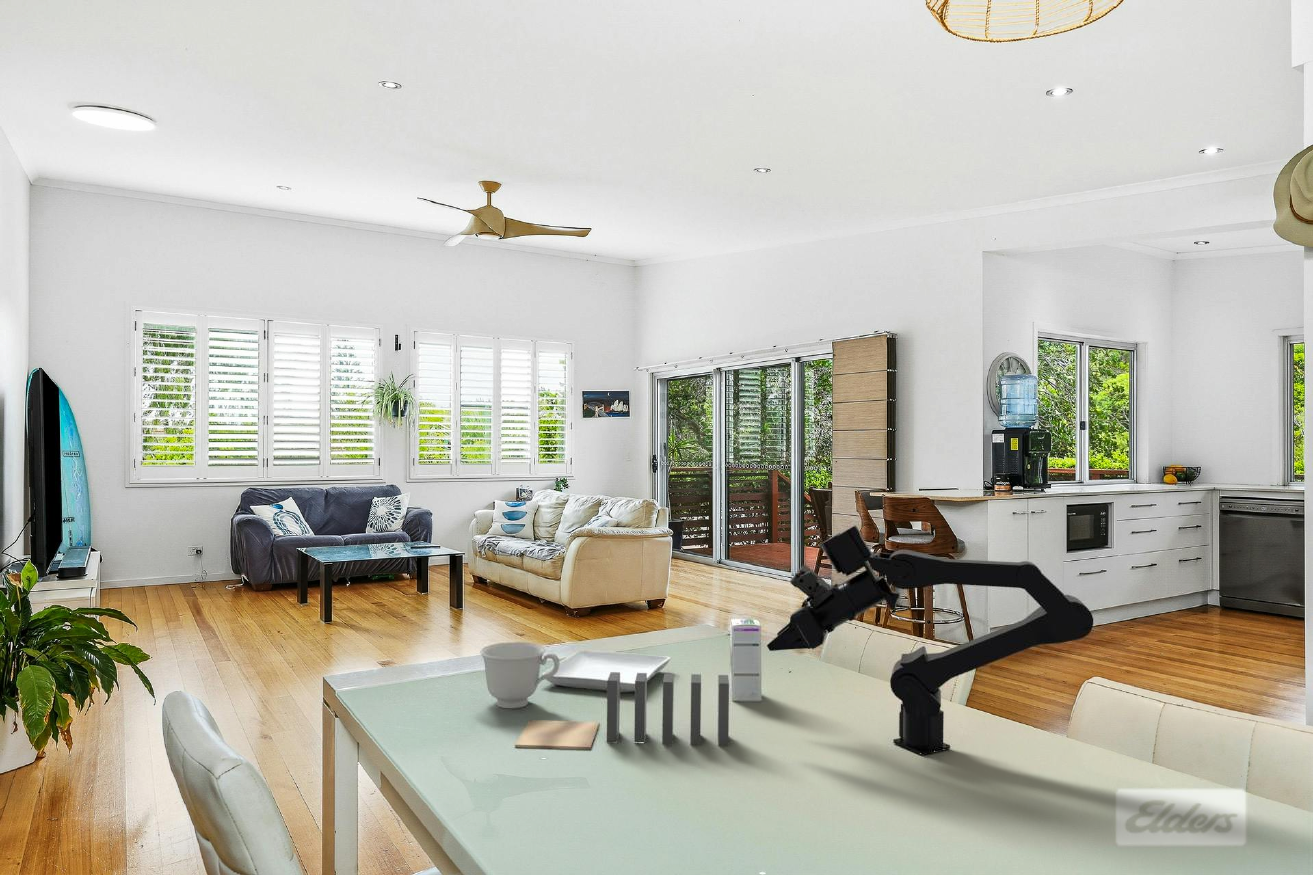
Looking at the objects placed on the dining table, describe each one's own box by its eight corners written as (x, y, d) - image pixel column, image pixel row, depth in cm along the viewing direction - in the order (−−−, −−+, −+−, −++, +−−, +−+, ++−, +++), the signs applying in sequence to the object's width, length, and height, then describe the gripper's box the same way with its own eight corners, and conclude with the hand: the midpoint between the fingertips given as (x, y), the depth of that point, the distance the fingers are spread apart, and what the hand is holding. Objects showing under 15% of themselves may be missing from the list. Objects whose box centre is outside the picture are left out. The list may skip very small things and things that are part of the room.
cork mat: (599, 724, 145) (599, 722, 145) (590, 749, 133) (590, 746, 133) (530, 722, 146) (530, 719, 146) (514, 747, 134) (515, 744, 134)
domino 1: (619, 732, 141) (620, 672, 141) (616, 742, 136) (617, 680, 136) (609, 731, 141) (610, 672, 142) (606, 742, 136) (607, 680, 137)
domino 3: (673, 733, 141) (673, 673, 141) (672, 744, 136) (672, 682, 136) (663, 733, 141) (664, 673, 141) (662, 744, 136) (663, 681, 136)
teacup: (547, 717, 148) (548, 660, 148) (468, 711, 151) (469, 655, 151) (568, 697, 160) (569, 644, 160) (494, 692, 163) (495, 640, 163)
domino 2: (646, 733, 141) (646, 673, 141) (644, 743, 136) (644, 681, 136) (636, 732, 141) (637, 672, 141) (634, 743, 136) (635, 681, 136)
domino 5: (727, 735, 140) (727, 675, 141) (728, 745, 136) (729, 683, 136) (717, 735, 141) (718, 674, 141) (718, 745, 136) (719, 683, 136)
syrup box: (762, 701, 159) (763, 624, 159) (730, 701, 159) (731, 624, 159) (759, 693, 165) (759, 618, 165) (728, 692, 165) (729, 618, 165)
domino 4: (700, 734, 141) (700, 674, 141) (700, 745, 136) (701, 682, 136) (690, 734, 141) (691, 674, 141) (690, 744, 136) (691, 682, 136)
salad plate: (539, 690, 166) (539, 672, 166) (579, 663, 187) (580, 648, 187) (641, 700, 160) (641, 682, 160) (672, 672, 180) (672, 656, 181)
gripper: (832, 549, 150) (759, 591, 155) (818, 562, 133) (736, 610, 137) (867, 604, 148) (792, 645, 153) (857, 625, 131) (772, 671, 135)
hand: (773, 641), depth 144 cm, fingers open, 9 cm apart
